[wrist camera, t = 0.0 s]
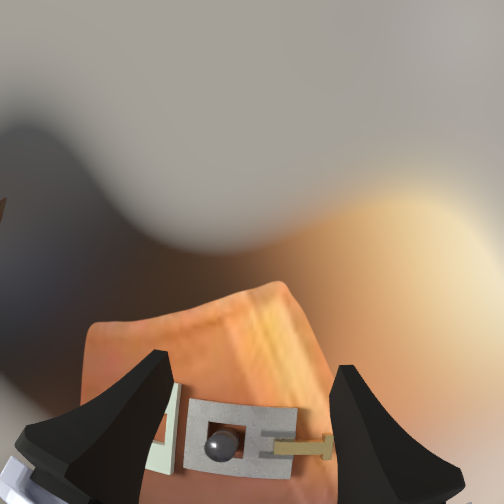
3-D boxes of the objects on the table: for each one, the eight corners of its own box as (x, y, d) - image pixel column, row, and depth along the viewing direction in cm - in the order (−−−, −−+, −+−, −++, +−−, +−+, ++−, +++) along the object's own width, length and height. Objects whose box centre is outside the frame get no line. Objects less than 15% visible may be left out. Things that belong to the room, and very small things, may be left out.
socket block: (288, 475, 32) (290, 480, 29) (186, 464, 33) (181, 468, 30) (295, 407, 37) (298, 408, 35) (192, 397, 38) (188, 398, 36)
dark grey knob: (239, 450, 34) (234, 464, 27) (213, 447, 34) (203, 459, 27) (241, 428, 36) (236, 437, 29) (215, 425, 36) (205, 433, 29)
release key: (327, 456, 31) (331, 459, 29) (272, 456, 32) (272, 460, 30) (330, 432, 33) (333, 435, 31) (274, 432, 34) (275, 435, 32)
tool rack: (173, 471, 32) (170, 475, 30) (129, 459, 33) (124, 461, 31) (181, 383, 39) (178, 383, 38) (137, 374, 40) (131, 373, 38)
